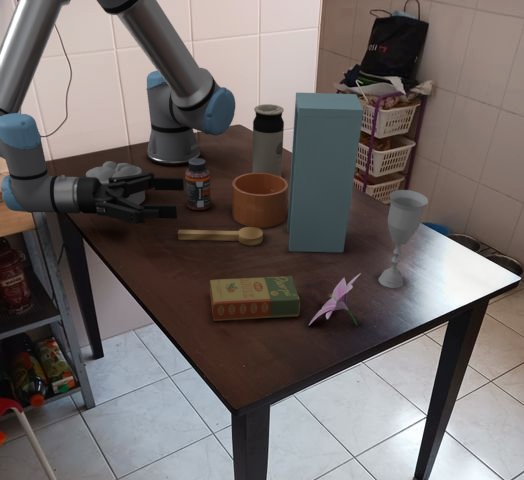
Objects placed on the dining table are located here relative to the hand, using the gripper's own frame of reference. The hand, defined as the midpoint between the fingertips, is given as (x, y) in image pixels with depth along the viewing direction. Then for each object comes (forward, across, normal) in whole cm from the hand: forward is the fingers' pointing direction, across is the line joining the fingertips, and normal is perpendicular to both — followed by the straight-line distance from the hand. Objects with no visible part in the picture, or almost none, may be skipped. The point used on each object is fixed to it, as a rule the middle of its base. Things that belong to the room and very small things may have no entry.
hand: (180, 197), depth 116 cm
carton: (+16, -26, +10) cm, 32 cm away
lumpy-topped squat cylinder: (-18, +18, +10) cm, 27 cm away
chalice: (+44, -16, +10) cm, 48 cm away
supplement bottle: (+2, +16, +10) cm, 19 cm away
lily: (+31, -30, +10) cm, 44 cm away
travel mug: (+19, +35, +10) cm, 41 cm away
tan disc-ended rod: (+9, 0, +10) cm, 13 cm away
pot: (+17, +12, +10) cm, 23 cm away
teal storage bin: (+30, 0, +10) cm, 31 cm away
